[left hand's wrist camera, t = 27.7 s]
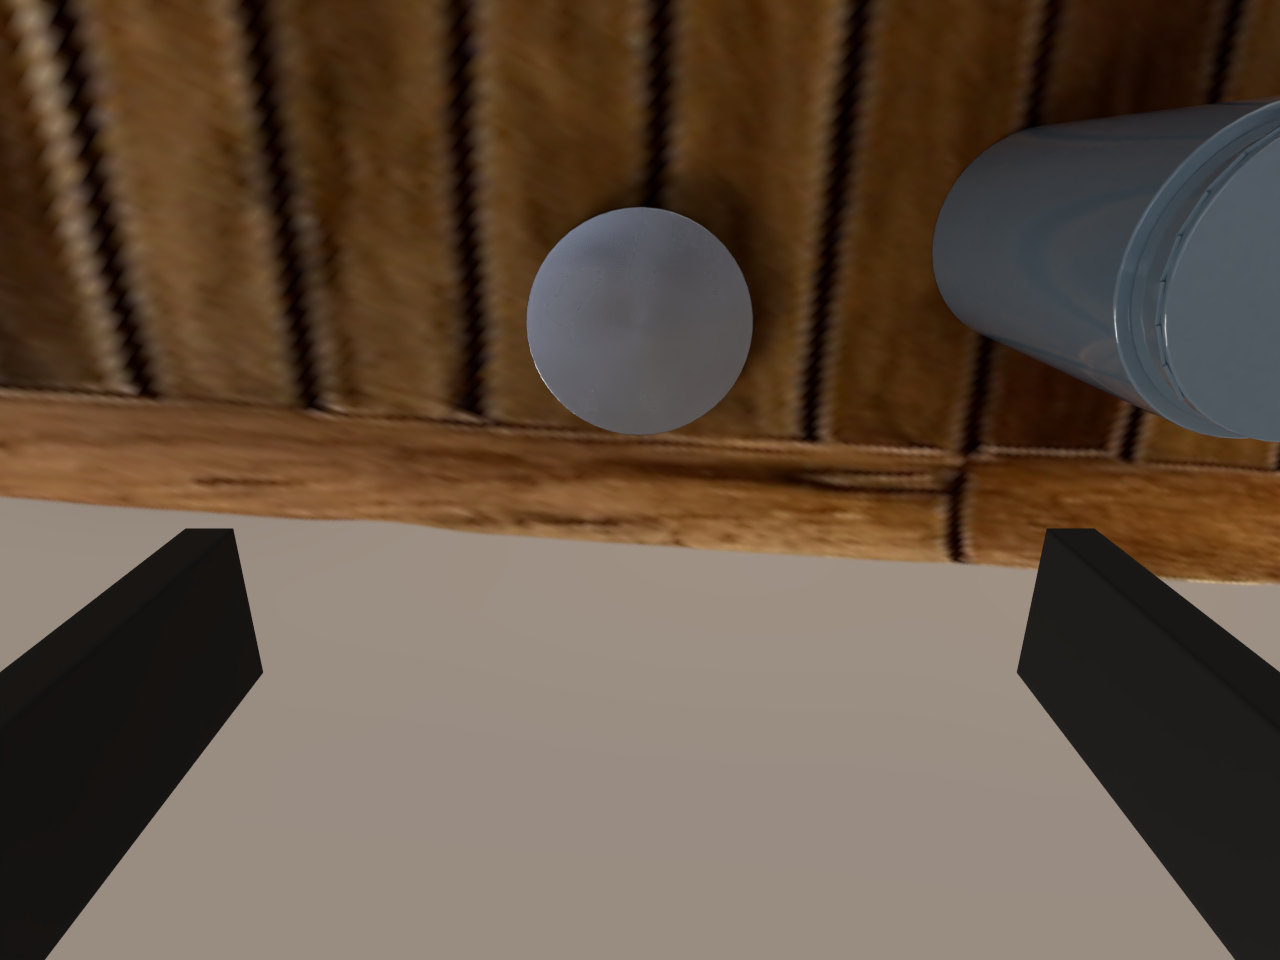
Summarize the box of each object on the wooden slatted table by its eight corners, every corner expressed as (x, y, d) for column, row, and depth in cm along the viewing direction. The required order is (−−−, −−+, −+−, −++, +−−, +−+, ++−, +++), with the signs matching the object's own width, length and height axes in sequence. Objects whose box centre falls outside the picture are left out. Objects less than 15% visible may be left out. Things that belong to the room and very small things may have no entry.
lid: (493, 354, 39) (486, 363, 37) (602, 158, 36) (600, 158, 34) (672, 460, 41) (673, 473, 39) (791, 284, 38) (798, 289, 36)
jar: (1087, 75, 35) (1470, -13, 19) (1177, 259, 38) (1576, 320, 22) (893, 217, 37) (1087, 248, 21) (992, 381, 40) (1230, 519, 24)
